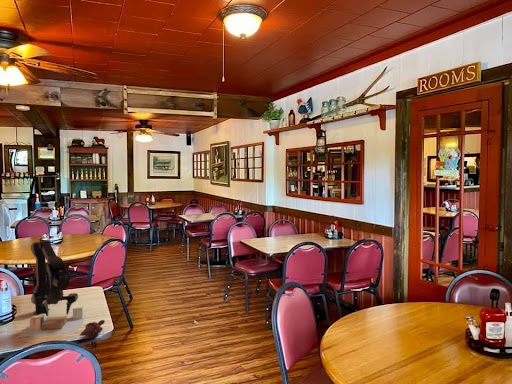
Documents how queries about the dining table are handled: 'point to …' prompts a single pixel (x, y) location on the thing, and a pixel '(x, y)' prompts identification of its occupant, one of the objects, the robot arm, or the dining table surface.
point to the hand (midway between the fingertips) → (57, 315)
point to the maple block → (36, 322)
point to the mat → (69, 327)
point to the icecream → (92, 329)
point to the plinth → (54, 323)
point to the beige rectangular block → (77, 312)
